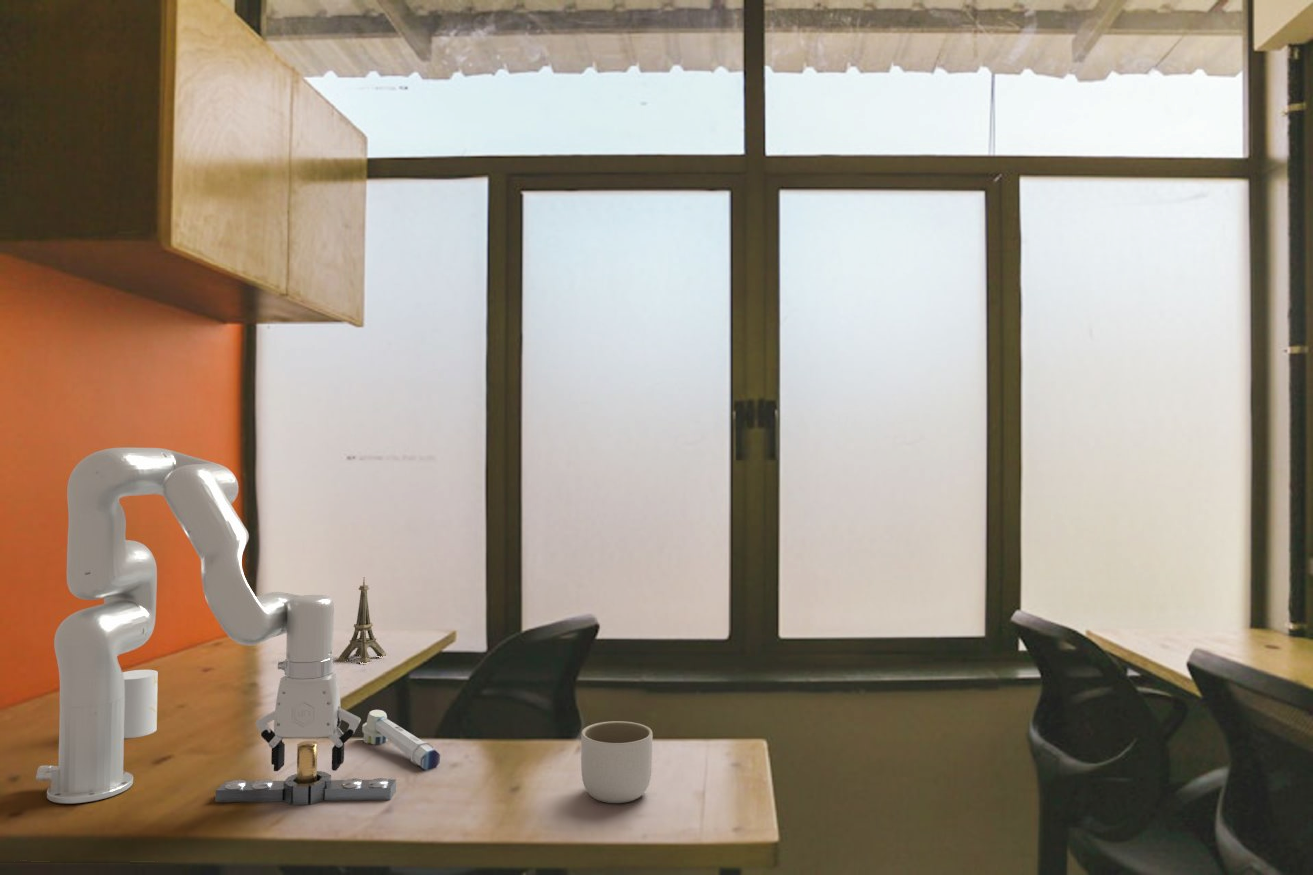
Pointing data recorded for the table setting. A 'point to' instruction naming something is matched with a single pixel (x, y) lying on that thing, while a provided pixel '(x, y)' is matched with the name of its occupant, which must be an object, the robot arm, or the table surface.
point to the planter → (616, 760)
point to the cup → (140, 702)
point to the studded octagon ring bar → (306, 790)
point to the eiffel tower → (362, 633)
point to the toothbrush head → (399, 740)
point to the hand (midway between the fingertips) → (307, 768)
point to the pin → (306, 762)
